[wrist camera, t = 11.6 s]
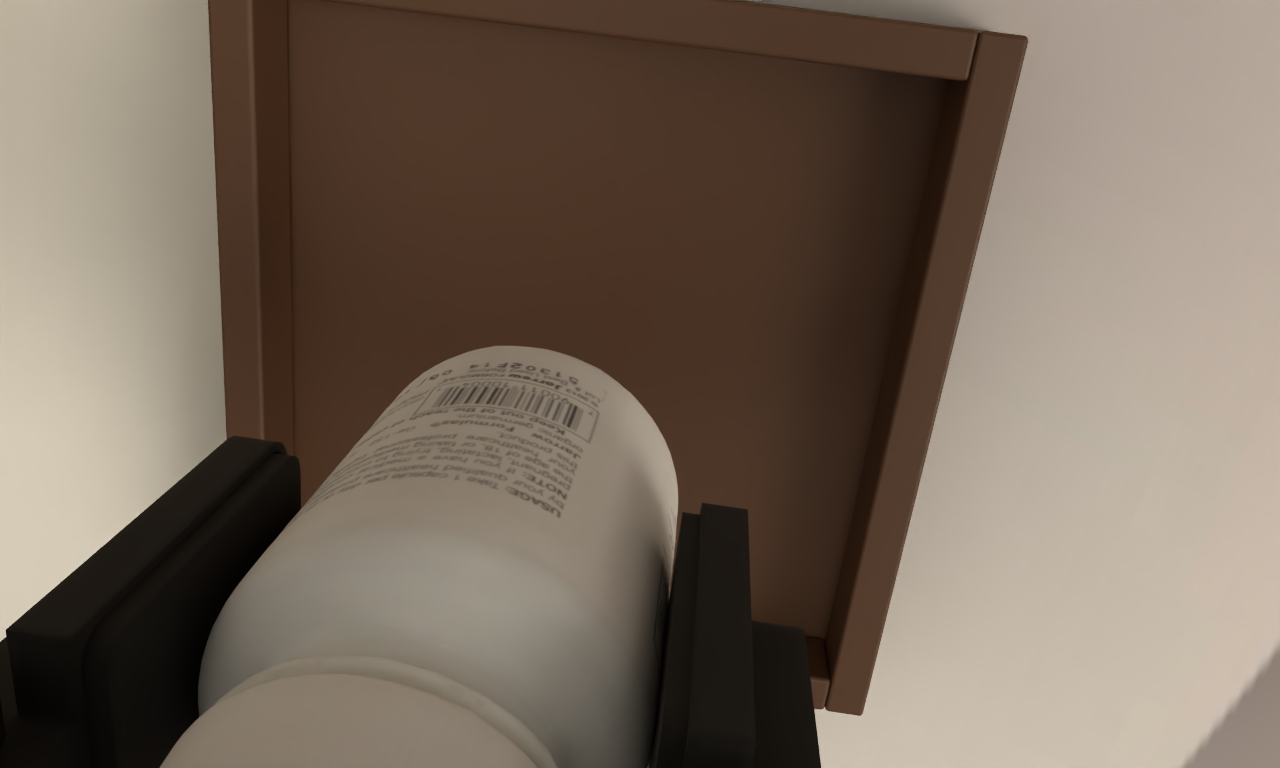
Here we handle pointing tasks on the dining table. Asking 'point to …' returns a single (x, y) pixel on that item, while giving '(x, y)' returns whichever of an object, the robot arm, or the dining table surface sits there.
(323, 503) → the pill bottle
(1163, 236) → the dining table surface
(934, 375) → the tray
